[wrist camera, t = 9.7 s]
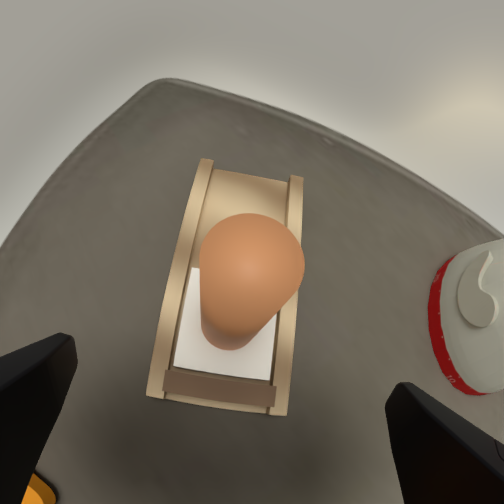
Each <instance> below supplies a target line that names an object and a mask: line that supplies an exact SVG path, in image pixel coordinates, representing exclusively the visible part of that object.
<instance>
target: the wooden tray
mask: <svg viewBox="0 0 504 504" xmlns="http://www.w3.org/2000/svg"><path fill="white" fill-rule="evenodd" d="M213 164H214V160H209V159H203V158H201V160H200V163H199V166H198V170H197V173H196V176H195V180H194V183H193V187H192V190H191V193H190V197H189V201H188V204H187V208H186V211H185V215H184V219H183V222H182V226H181V230H180V234H179V238H178V241H177V245H176V249H175V253H174V257H173V261H172V266H171V270H170V274H169V278H168V283H167V287H166V291H165V296H164V300H163V305H162V310H161V314H160V319H159V324H158V329H157V334H156V339H155V345H154V350H153V355H152V361H151V367H150V372H149V378H148V384H147V391H146V395H147V396H151V397H156V398H160V399H170V400H175V401H180V402H185V403H191V404H196V405H202V406H209V407H215V408H222V409H230V410H238V411H247V412H256V413H266V414H269V415H281V416H287V407H288V398H289V389H290V380H291V370H292V360H293V349H294V337H295V325H296V313H297V299H298V289H297V291H296V292H295V293H294V294H293V296H292V297H291V298H290V299H289V300H288V301H287V302H286V303H285V305H284V306H283V307H282V308H281V309H280V310H279V311H278V312H277V314H276V324H275V334H274V344H273V353H272V362H271V371H270V380H269V381H262V380H254V379H245V378H238V377H231V376H224V375H217V374H211V373H205V372H199V371H193V370H188V369H183V368H177V367H174V366H173V364H174V358H175V352H176V346H177V341H178V335H179V330H180V324H181V319H182V314H183V309H184V304H185V298H186V293H187V289H188V284H189V279H190V274H191V269H192V267H193V268H199V255H200V249H201V245H202V242H203V240H204V238H205V236H206V235H207V233H208V232H209V231H210V230H211V228H212V227H213V226H215V225H216V224H217V223H218V222H220V221H221V220H223V219H225V218H227V217H230V216H233V215H237V214H243V213H254V214H260V215H264V216H267V217H270V218H273V219H275V220H277V221H278V222H280V223H281V224H283V225H284V226H285V227H287V228H288V229H289V230H290V231H291V232H292V233H293V235H294V236H295V237H296V239H297V240H298V242H299V244H300V246H301V229H302V203H303V177H299V176H294V175H291V176H290V178H289V181H288V183H287V182H282V181H277V180H273V179H268V178H262V177H257V176H252V175H247V174H241V173H236V172H230V171H224V170H218V169H213Z"/></svg>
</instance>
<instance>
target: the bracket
mask: <svg viewBox="0 0 504 504" xmlns="http://www.w3.org/2000/svg"><path fill="white" fill-rule="evenodd" d="M55 502H56V498H55V495H54V493H53V491H52V490H51V488H50V487H49V486H48V485H47V484H45V483H44V482H43V481H42V480H41V479H39V478H38V477H37V476H36V475H35V474H34V473H33V474H32V477H31V479H30V482H29V485H28V487H27V490H26V492H25V495H24V498H23V501H22V503H21V504H55Z"/></svg>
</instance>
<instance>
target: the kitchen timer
mask: <svg viewBox="0 0 504 504" xmlns="http://www.w3.org/2000/svg"><path fill="white" fill-rule="evenodd" d="M428 321H429V333H430V337H431V341H432V346H433V351H434V354H435V356H436V358H437V361H438V363H439V365H440V368H441V370H442V372H443V373H444V375H445V376H446V377H447V378H448V380H449V381H450V382H451V384H452V385H453V386H454V387H455V388H457V389H459V390H460V391H462V392H463V393H465V394H469V395H485V394H491V393H494V392H497V391H500V390H502V389H504V239H500V240H496V241H492V242H487V243H484V244H480V245H477V246H475V247H472V248H470V249H467V250H465V251H462V252H460V253H459V254H457V255H455V256H454V257H452V258H451V259H450V260H448V261H447V262H446V263H445V264H444V265H443V266H442V267H441V268H440V269H439V270H438V271H437V274H436V276H435V279H434V281H433V283H432V286H431V290H430V297H429V303H428Z"/></svg>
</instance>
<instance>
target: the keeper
mask: <svg viewBox="0 0 504 504" xmlns="http://www.w3.org/2000/svg"><path fill="white" fill-rule="evenodd" d="M304 269H305V261H304V255H303V252H302V249H301V246H300V244H299V242H298V240H297V239H296V237H295V236H294V235H293V233H292V232H291V231H290V230H289V229H288V228H287V227H285V226H284V225H283V224H281V223H280V222H278V221H277V220H275V219H273V218H270V217H267V216H264V215H260V214H254V213H243V214H237V215H233V216H230V217H227V218H225V219H223V220H221V221H220V222H218V223H217V224H216V225H215V226H213V227H212V228H211V230H210V231H209V232H208V233H207V235H206V236H205V238H204V240H203V242H202V245H201V249H200V255H199V268H193V267H192V269H191V274H190V279H189V284H188V289H187V293H186V298H185V304H184V309H183V314H182V319H181V324H180V330H179V335H178V341H177V346H176V352H175V358H174V364H173V366H174V367H177V368H183V369H188V370H193V371H199V372H205V373H211V374H217V375H224V376H231V377H238V378H245V379H254V380H262V381H269V380H270V371H271V362H272V353H273V344H274V334H275V324H276V314H277V312H278V311H279V310H280V309H281V308H282V307H283V306H284V305H285V303H286V302H287V301H288V300H289V299H290V298H291V297H292V296H293V294H294V293H295V292H296V291H297V289H298V288H299V286H300V284H301V282H302V279H303V275H304Z"/></svg>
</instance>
